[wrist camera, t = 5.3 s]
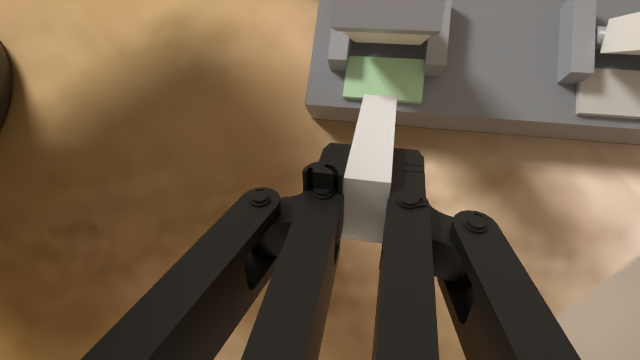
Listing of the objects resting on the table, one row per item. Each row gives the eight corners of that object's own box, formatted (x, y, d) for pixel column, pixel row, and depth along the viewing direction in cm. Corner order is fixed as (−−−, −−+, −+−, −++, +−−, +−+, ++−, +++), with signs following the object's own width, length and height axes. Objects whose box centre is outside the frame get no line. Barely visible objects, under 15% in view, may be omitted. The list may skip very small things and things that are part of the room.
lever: (354, 45, 24) (327, 26, 14) (356, 12, 24) (330, -31, 14) (421, 48, 24) (444, 31, 14) (425, 14, 23) (452, -29, 13)
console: (312, 118, 27) (300, 95, 23) (335, -51, 29) (328, -103, 25) (653, 145, 24) (718, 124, 19) (654, -49, 26) (714, -110, 21)
